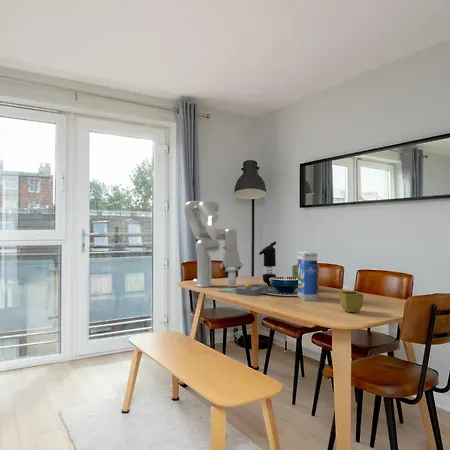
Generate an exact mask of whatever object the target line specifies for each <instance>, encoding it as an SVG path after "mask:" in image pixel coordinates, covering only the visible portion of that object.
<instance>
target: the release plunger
mask: <svg viewBox="0 0 450 450" xmlns="http://www.w3.org/2000/svg"><path fill="white" fill-rule="evenodd" d="M252 284H253V283H249V282H248V283H245V286H246V288H248V289H250V288H251V287H252Z"/></svg>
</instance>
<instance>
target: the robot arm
mask: <svg viewBox="0 0 450 450" xmlns="http://www.w3.org/2000/svg"><path fill="white" fill-rule="evenodd" d="M183 211H184V215H185V218H186V220H187V221H188V223H189V226H190V229H191V231H192V234H193V237H194V238H195V239H196V240H197V241H196V243H195V251H196V257H197V258H196V259H197V261H196V263H197V265H196V266H197V268H196V269H197V272H196V273H197V275H196V276H197V278H194V279H193V283H195V284H194V286H195V287H198V288H209V287H214V286H215V284H214V283H212V258H211V255H210V254H212V253H217V252H219V251H220V250H221V243H220V241H224V246H222V250H224V251H223V255H222V262H221V263H220V264H219V265H218V266H219V267H220V269H222V270H223V272H224V278H226V279H227V278H228V272H227V270H229V268H234V270H236V279H237V278H238V277H239V271H240V269H241V268H243V266H244V265H243V263H242V262H241V259H240V251H239V250H238V233H237V232H238V230H237V229H236V228H216V227H215V225H214V224H215V223H216V222H218V220H219V218H220V217H219V214H218V213H219V211H220V206H219V203H218V202H217V201H214V200H203V201H202V200H190V201H187V202H186V203H185V205H184V210H183ZM198 214H202V216H203V218H204V220H205V221H206V225H205V224H203V222H202V219H201V217H199V215H198Z"/></svg>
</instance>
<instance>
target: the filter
mask: <svg viewBox="0 0 450 450" xmlns="http://www.w3.org/2000/svg"><path fill="white" fill-rule="evenodd" d="M276 244H277V241H273V242H270V244H268V246H265V247H264V248H262V250H261V251H260V252H259V253H258V254H259V256H261V255H263V267H266V269H267V273H264V274H262V280H263V282H264V283H265V284H266V285H269V287H271V286H272V284H270V281H269V278H271V277H276V278H277V275H276V274H275V273H272V269H273V267H276V266H277V263H276V261H277V260H276V258H277V257H276V255H277V254H276V248H275V247H274V246H275V245H276Z"/></svg>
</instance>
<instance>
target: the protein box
mask: <svg viewBox="0 0 450 450" xmlns="http://www.w3.org/2000/svg"><path fill="white" fill-rule="evenodd" d="M319 267H320V266H319V265H318V264H317V293H318V292H319V290H320V283H319V281H320V278H319V273H320V272H319V271H320V270H319ZM291 269H292V278H298V264H294V265H292V268H291ZM295 292H298V288H297V289H296V291H295Z"/></svg>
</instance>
